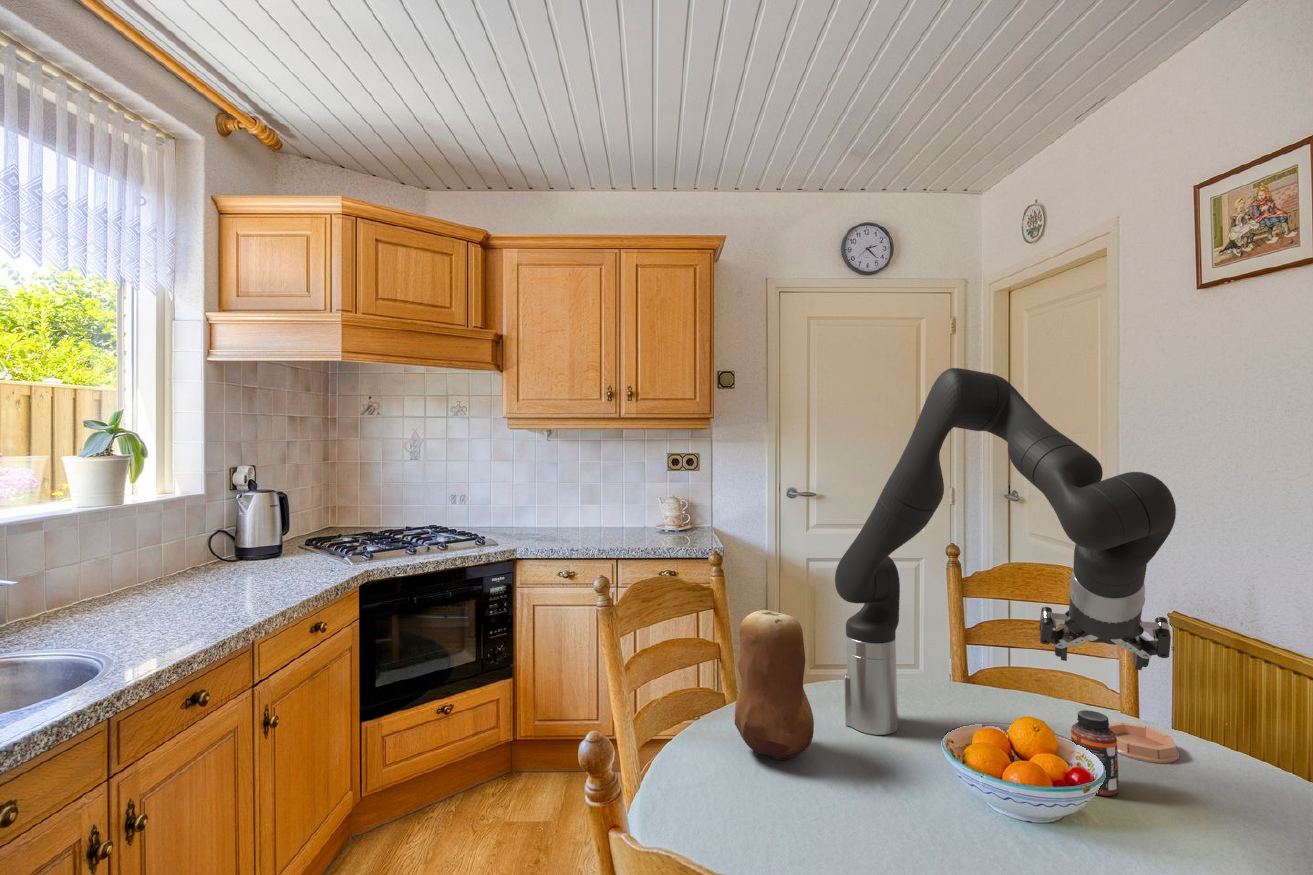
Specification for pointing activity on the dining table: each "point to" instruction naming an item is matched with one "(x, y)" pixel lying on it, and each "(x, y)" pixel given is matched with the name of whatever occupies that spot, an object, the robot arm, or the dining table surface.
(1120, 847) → the dining table surface
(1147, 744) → the coaster dish
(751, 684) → the butternut squash
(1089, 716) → the supplement bottle
